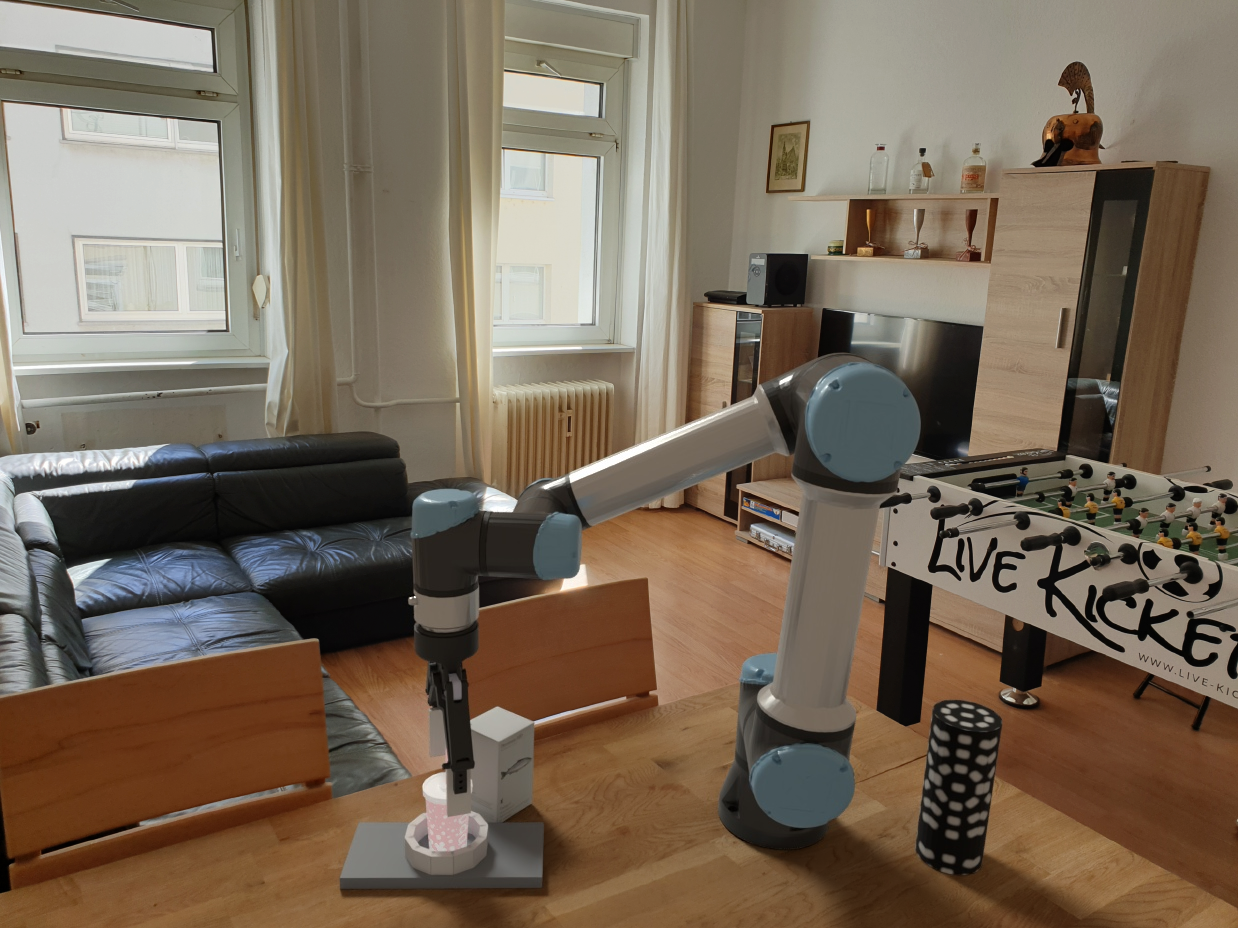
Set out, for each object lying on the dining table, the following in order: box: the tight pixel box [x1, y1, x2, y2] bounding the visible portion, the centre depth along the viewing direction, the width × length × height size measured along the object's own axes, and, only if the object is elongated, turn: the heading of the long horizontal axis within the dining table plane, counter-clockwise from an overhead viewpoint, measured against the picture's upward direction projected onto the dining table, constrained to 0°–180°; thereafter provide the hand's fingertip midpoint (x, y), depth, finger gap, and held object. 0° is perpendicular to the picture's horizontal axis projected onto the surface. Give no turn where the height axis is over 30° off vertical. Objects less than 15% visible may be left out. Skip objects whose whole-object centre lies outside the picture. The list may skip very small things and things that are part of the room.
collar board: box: [339, 811, 545, 890], centre depth 118 cm, size 24×11×4 cm, turn 93°
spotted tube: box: [914, 699, 1004, 876], centre depth 121 cm, size 8×8×20 cm
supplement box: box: [470, 706, 535, 822], centre depth 129 cm, size 7×7×13 cm
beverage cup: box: [422, 748, 473, 851], centre depth 116 cm, size 6×6×14 cm
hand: (449, 782), depth 116 cm, fingers open, 13 cm apart
